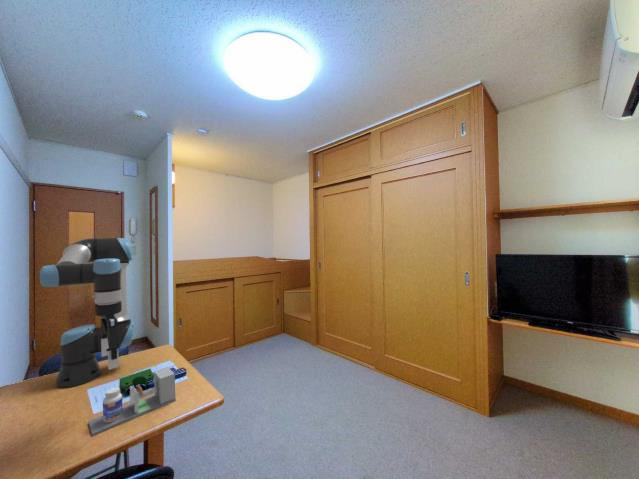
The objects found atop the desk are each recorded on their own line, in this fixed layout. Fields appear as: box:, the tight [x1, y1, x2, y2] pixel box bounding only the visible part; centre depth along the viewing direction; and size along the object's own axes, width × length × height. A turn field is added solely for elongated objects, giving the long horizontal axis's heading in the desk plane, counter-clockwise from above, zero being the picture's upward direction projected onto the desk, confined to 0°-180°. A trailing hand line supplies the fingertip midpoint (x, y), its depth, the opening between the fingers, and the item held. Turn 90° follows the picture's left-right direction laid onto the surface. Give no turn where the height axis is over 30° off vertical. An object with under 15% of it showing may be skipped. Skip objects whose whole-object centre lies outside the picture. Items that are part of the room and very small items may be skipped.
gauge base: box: [88, 366, 177, 437], centre depth 98 cm, size 9×25×10 cm, turn 137°
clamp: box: [118, 368, 154, 393], centre depth 113 cm, size 12×6×9 cm, turn 132°
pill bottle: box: [102, 386, 123, 423], centre depth 93 cm, size 5×5×10 cm
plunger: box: [129, 385, 159, 413], centre depth 103 cm, size 7×14×7 cm, turn 137°
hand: (109, 361), depth 95 cm, fingers open, 13 cm apart
